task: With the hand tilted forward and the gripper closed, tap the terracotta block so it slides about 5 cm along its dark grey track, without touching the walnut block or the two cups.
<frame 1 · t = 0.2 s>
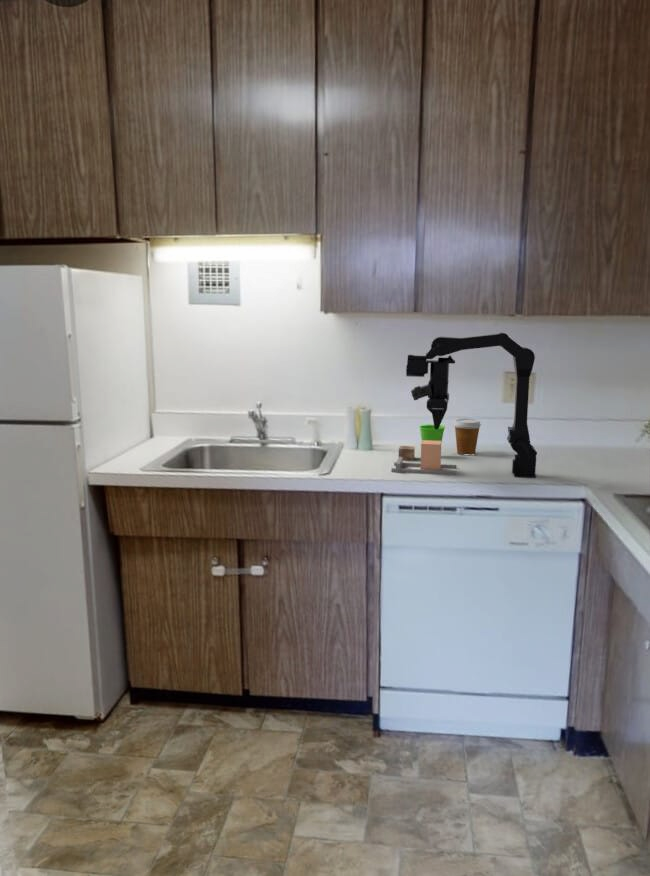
hand: (437, 426, 212), 15 cm above the table, tool pointing down, fingers open, 9 cm apart
cup: (431, 458, 235), on the table
disposable coffee cup: (466, 454, 241), on the table
terracotta block: (431, 456, 212), point 5 cm above the table, slide at 0.0 cm
walnut block: (406, 461, 229), on the table
track: (424, 472, 213), on the table
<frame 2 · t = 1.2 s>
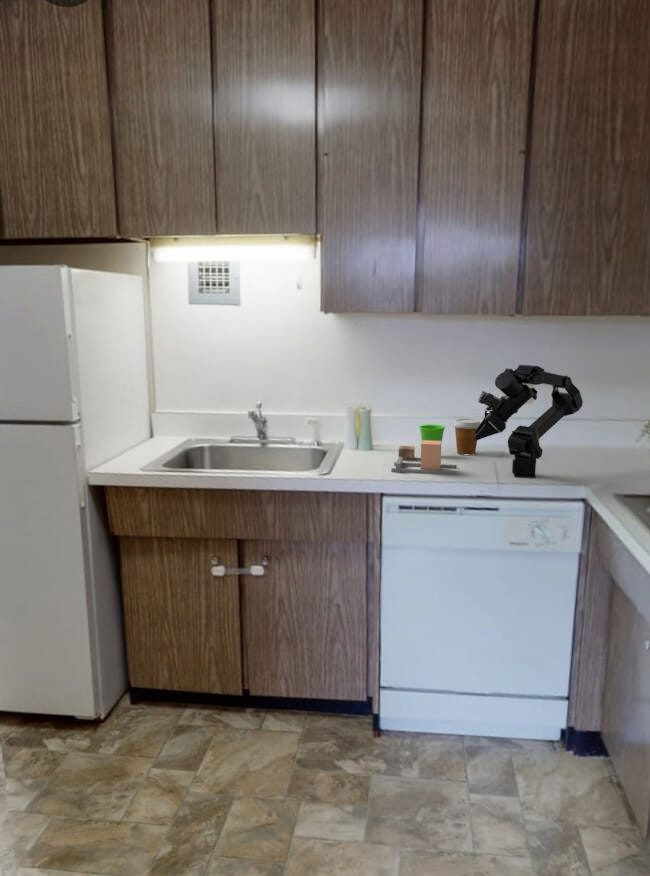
hand: (475, 436, 208), 12 cm above the table, tool tilted 45°, fingers open, 9 cm apart
nothing on the table moved.
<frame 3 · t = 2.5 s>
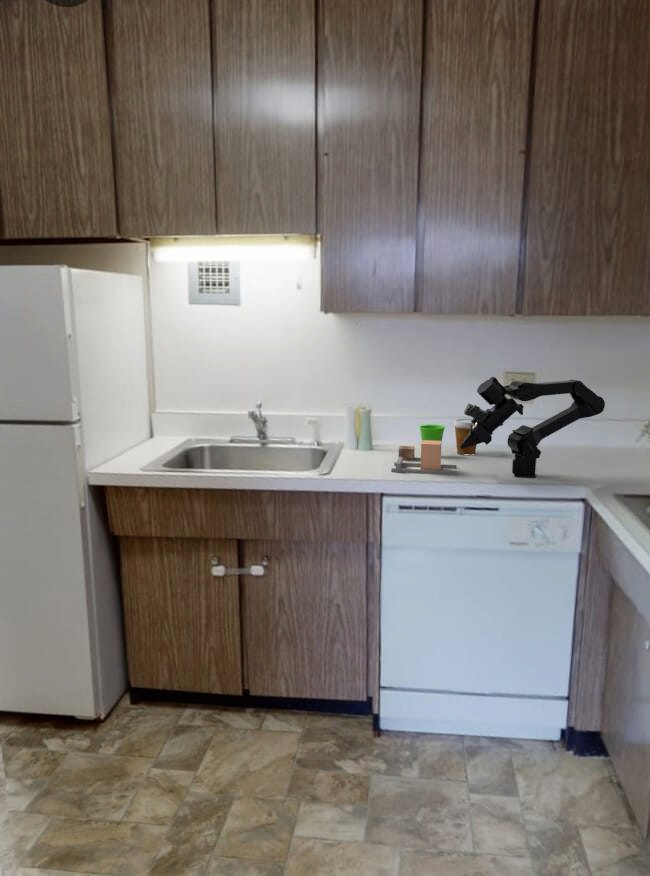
hand: (460, 447, 209), 9 cm above the table, tool tilted 45°, fingers closed
nothing on the table moved.
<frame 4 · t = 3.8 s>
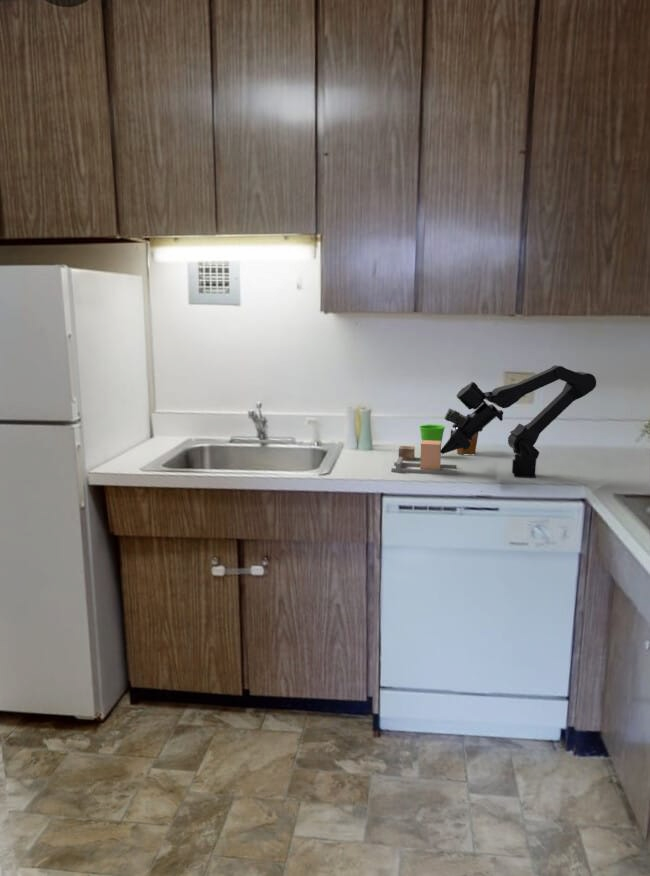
hand: (441, 452, 211), 7 cm above the table, tool tilted 45°, fingers closed, pressing on terracotta block
terracotta block: (430, 456, 212), point 5 cm above the table, slide at 0.1 cm, touching gripper
everything else where it was.
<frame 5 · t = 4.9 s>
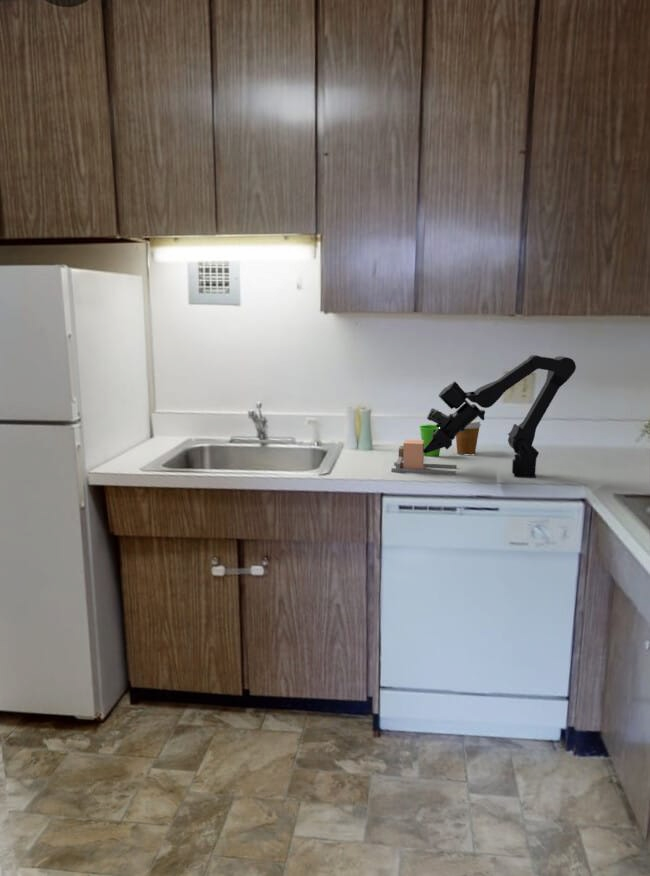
hand: (424, 452, 212), 7 cm above the table, tool tilted 45°, fingers closed, pressing on terracotta block
terracotta block: (413, 455, 213), point 5 cm above the table, slide at 5.5 cm, touching gripper
everything else where it was.
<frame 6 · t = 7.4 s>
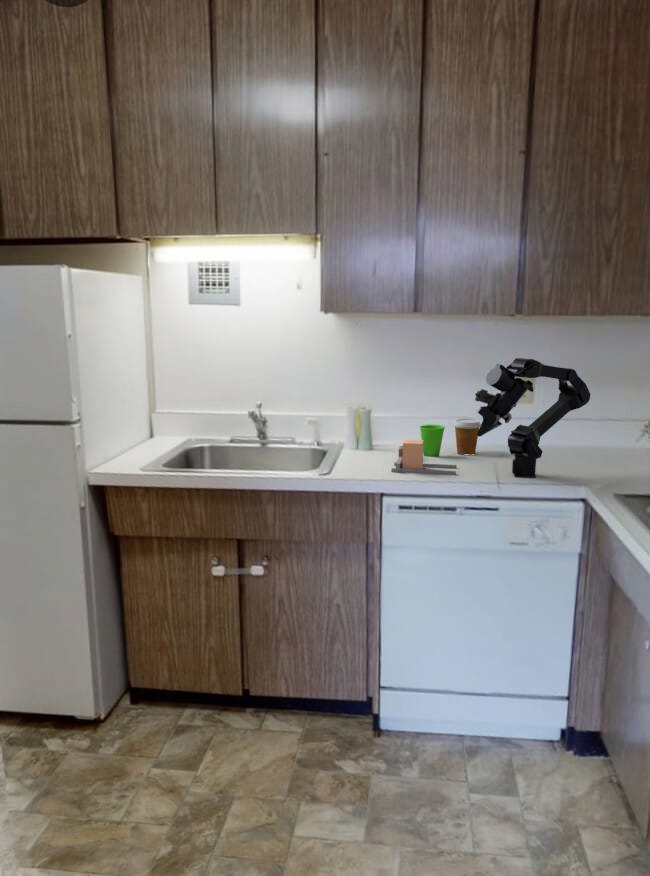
hand: (478, 435, 208), 12 cm above the table, tool tilted 35°, fingers closed
terracotta block: (413, 455, 213), point 6 cm above the table, slide at 5.7 cm
everything else where it was.
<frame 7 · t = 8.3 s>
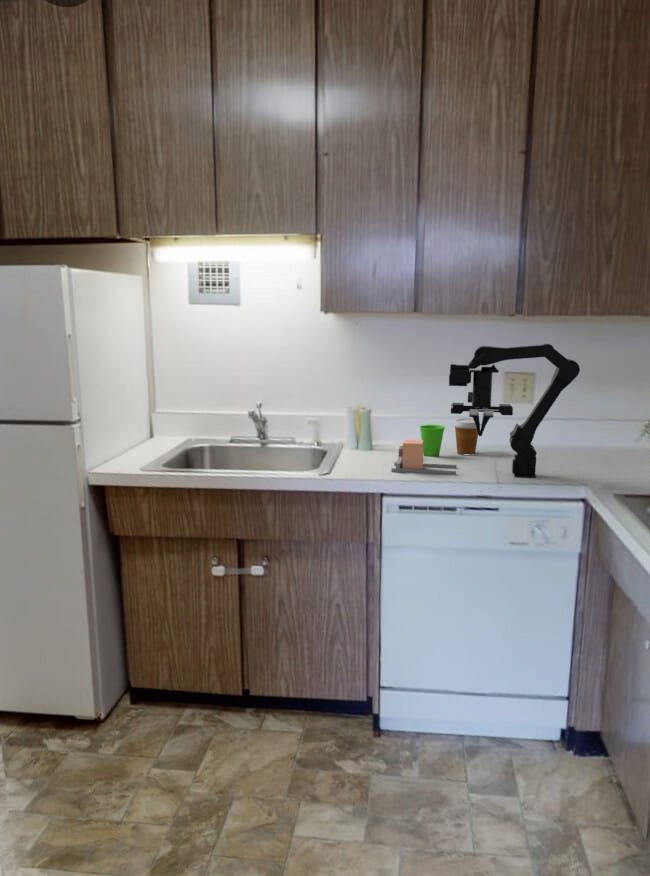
hand: (480, 436, 210), 12 cm above the table, tool pointing down, fingers closed
nothing on the table moved.
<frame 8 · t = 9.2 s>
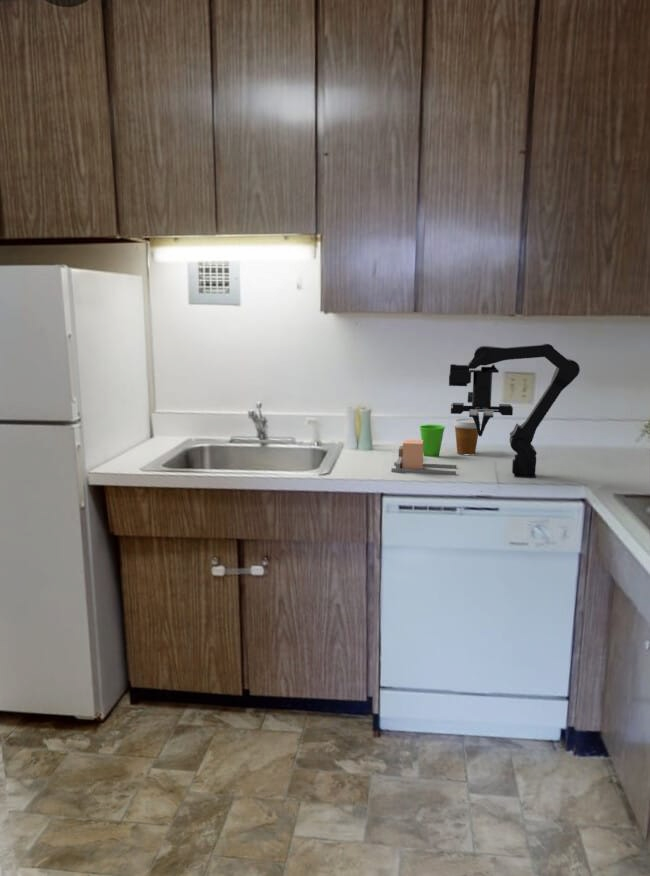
hand: (480, 436, 210), 12 cm above the table, tool pointing down, fingers closed
nothing on the table moved.
at the end: terracotta block slide at 5.7 cm; walnut block moved 0.1 cm from its start; cup moved 0.2 cm from its start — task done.
